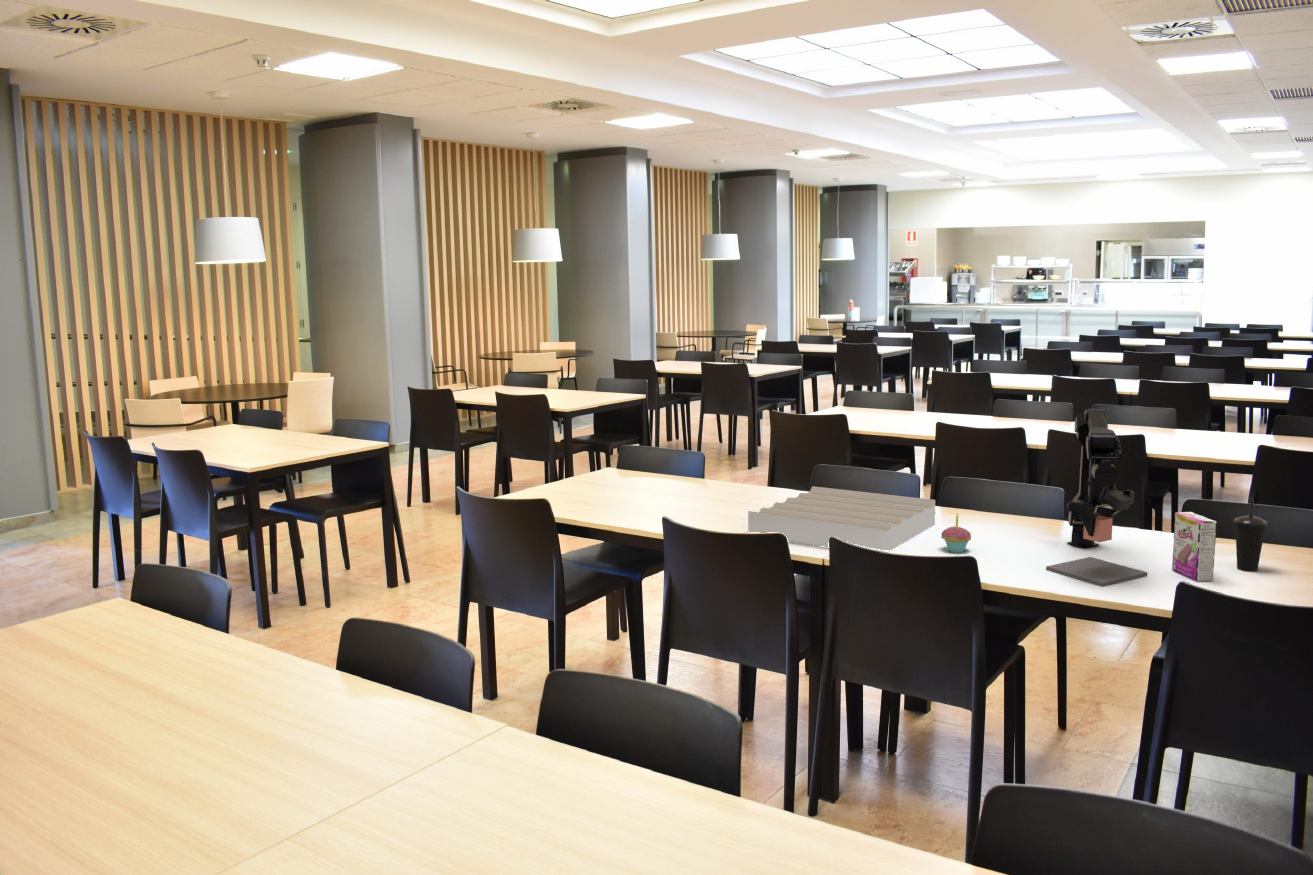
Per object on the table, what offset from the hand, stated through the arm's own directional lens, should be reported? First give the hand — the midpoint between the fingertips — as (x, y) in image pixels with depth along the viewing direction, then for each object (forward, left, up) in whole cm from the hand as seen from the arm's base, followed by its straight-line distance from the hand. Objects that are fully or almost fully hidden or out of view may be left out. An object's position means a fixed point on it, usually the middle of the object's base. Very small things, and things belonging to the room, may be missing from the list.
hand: (1097, 534), depth 265 cm
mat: (0, 0, -11) cm, 11 cm away
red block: (0, 0, -1) cm, 1 cm away
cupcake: (+15, -37, -11) cm, 41 cm away
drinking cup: (-37, +19, -11) cm, 43 cm away
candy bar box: (-19, +15, -11) cm, 27 cm away
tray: (+28, -74, -12) cm, 80 cm away
